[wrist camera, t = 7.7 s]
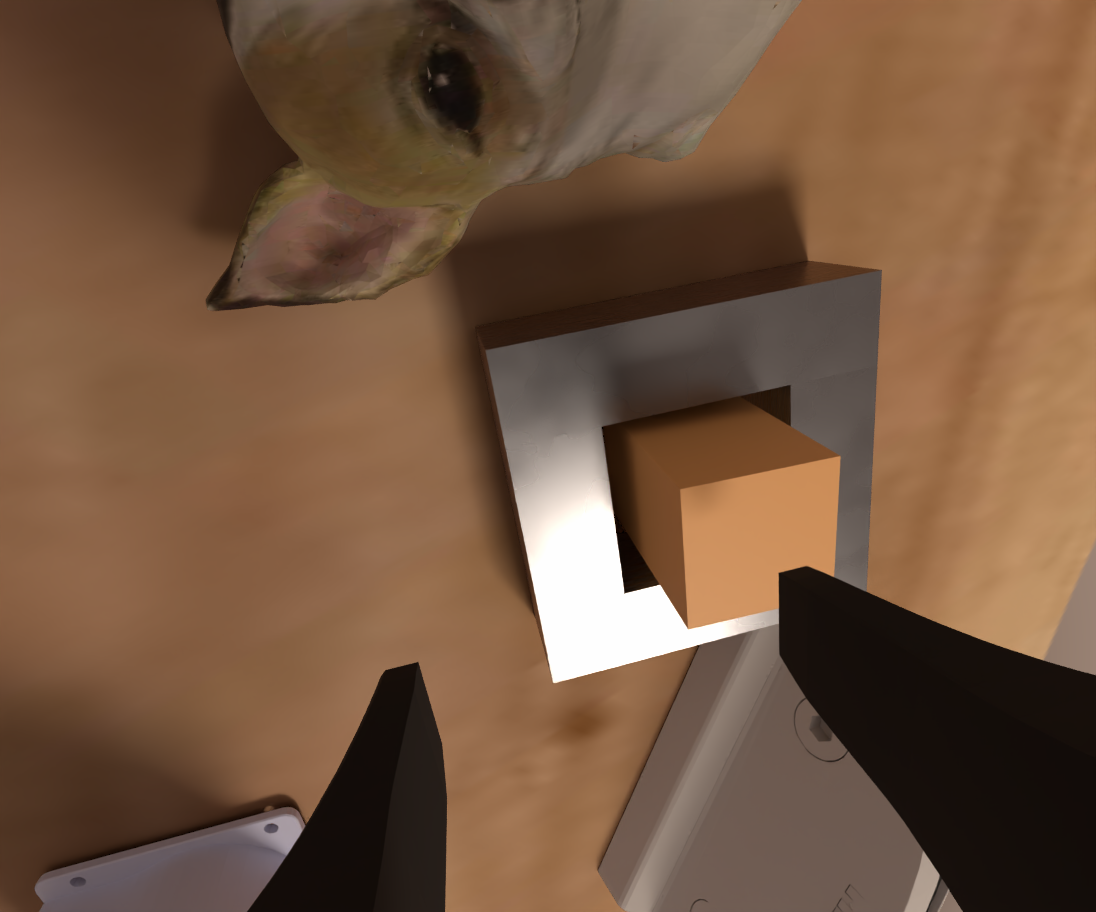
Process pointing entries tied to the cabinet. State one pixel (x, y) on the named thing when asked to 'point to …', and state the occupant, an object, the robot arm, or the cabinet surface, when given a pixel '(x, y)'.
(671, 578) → the orange square-section block
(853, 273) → the socket block
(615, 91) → the ceramic sculpture
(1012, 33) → the cabinet surface
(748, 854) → the banded rounded wedge
